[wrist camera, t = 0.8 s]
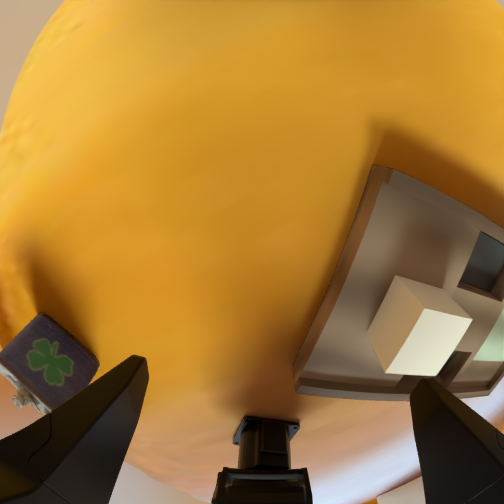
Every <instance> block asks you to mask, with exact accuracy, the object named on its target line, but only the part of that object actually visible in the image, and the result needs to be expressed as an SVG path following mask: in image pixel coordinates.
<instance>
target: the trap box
mask: <svg viewBox="0 0 504 504" xmlns="http://www.w3.org/2000/svg"><path fill="white" fill-rule="evenodd" d="M480 231H482V232H484V233H486V234H487V235H489V236H491V237H493V238H494V239H496V240H498V241H499V242H501V243H503V244H504V229H503V228H501V227H500V226H498V225H497V224H495V223H494V222H492V221H491V220H489V219H488V218H486V217H484V216H483V215H481V214H479V213H478V212H476V211H474V210H473V209H471V208H469V207H468V206H466V205H464V204H462V203H461V202H459V201H457V200H455V199H453V198H452V197H450V196H448V195H446V194H444V193H442V192H440V191H439V190H437V189H435V188H433V187H431V186H429V185H427V184H425V183H423V182H421V181H419V180H417V179H414V178H412V177H410V176H408V175H406V174H404V173H402V172H399V171H397V170H395V169H392V168H387V167H382V166H377V165H372V167H371V170H370V173H369V177H368V180H367V183H366V186H365V189H364V192H363V195H362V198H361V201H360V204H359V207H358V210H357V213H356V216H355V219H354V222H353V224H352V227H351V230H350V233H349V235H348V238H347V241H346V243H345V246H344V249H343V251H342V254H341V257H340V259H339V262H338V264H337V267H336V269H335V272H334V274H333V277H332V279H331V282H330V284H329V286H328V289H327V291H326V294H325V296H324V298H323V301H322V303H321V305H320V307H319V310H318V312H317V314H316V317H315V319H314V321H313V323H312V325H311V328H310V330H309V332H308V334H307V336H306V338H305V340H304V343H303V345H302V347H301V349H300V351H299V353H298V355H297V357H296V359H295V361H294V363H293V373H294V383H295V392H296V393H298V394H305V395H313V396H322V397H332V398H343V399H356V400H375V401H410V394H411V392H412V390H413V389H414V387H415V386H416V384H417V383H418V381H419V380H420V379H421V378H426V377H431V378H433V379H434V380H436V381H437V382H438V383H439V384H441V385H442V386H443V387H445V388H446V389H447V390H448V391H450V392H451V393H452V394H453V395H455V396H456V397H457V398H459V399H462V398H473V397H481V396H489V394H490V393H491V392H492V391H493V389H494V388H495V387H496V386H497V384H498V383H499V382H500V380H501V379H502V378H503V376H504V245H502V244H501V243H499V242H497V241H496V240H494V239H492V238H491V237H489V236H487V235H485V234H484V233H482V232H480ZM395 275H397V276H400V277H404V278H407V279H411V280H414V281H417V282H421V283H424V284H427V285H431V286H434V287H437V288H441V289H443V290H444V291H445V292H446V293H447V294H448V295H449V296H450V297H451V298H452V299H453V300H454V301H455V302H456V303H457V304H458V305H459V306H460V307H461V308H462V309H463V310H464V311H465V312H466V313H467V314H468V315H469V316H470V317H471V318H472V319H473V320H472V322H471V323H470V325H469V327H468V328H467V330H466V332H465V333H464V335H463V337H462V338H461V340H460V342H459V343H458V345H457V346H456V348H455V349H454V351H453V352H452V354H451V355H450V357H449V358H448V360H447V361H446V363H445V364H444V365H443V367H442V368H441V370H440V371H439V372H438V374H437V375H436V376H423V375H405V374H392V373H385V372H384V370H383V368H382V365H381V363H380V361H379V359H378V357H377V354H376V352H375V350H374V348H373V346H372V344H371V342H370V340H369V337H368V335H367V333H366V332H367V331H368V329H369V327H370V325H371V323H372V321H373V319H374V317H375V316H376V314H377V312H378V310H379V308H380V306H381V304H382V302H383V300H384V298H385V296H386V294H387V292H388V289H389V287H390V285H391V283H392V281H393V279H394V277H395Z"/></svg>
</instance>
